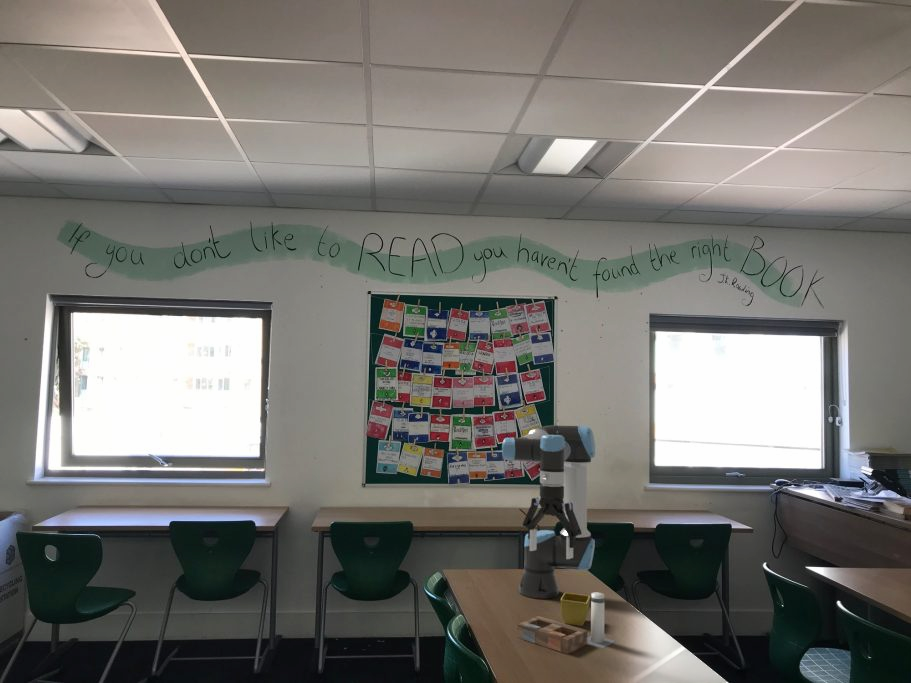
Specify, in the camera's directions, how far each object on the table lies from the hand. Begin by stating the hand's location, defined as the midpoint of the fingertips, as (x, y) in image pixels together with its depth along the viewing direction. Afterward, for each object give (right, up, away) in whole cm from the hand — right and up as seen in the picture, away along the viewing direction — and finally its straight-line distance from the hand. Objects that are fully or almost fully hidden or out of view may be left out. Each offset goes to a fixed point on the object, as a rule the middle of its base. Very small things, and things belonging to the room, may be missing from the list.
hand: (550, 554), depth 202 cm
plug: (+14, -26, -2) cm, 30 cm away
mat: (+14, -27, -2) cm, 31 cm away
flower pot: (+10, -29, +15) cm, 34 cm away
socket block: (0, -27, -2) cm, 27 cm away
